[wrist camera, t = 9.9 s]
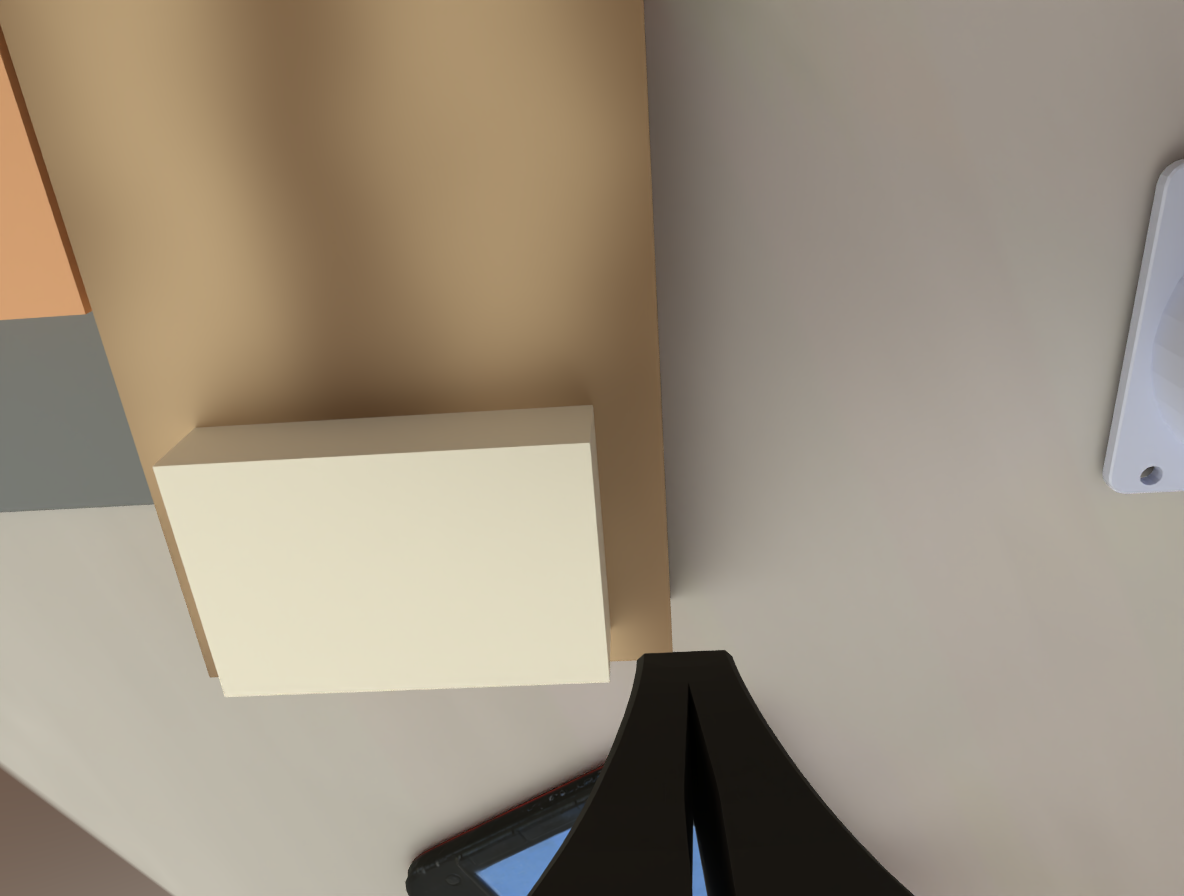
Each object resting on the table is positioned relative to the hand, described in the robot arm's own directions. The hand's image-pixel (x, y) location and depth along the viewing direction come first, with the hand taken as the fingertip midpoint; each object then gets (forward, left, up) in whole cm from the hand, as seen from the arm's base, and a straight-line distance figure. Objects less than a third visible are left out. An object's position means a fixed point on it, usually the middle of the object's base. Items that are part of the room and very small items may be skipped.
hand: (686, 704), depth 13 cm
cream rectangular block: (+6, +1, -7) cm, 10 cm away
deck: (+6, -6, -10) cm, 13 cm away
